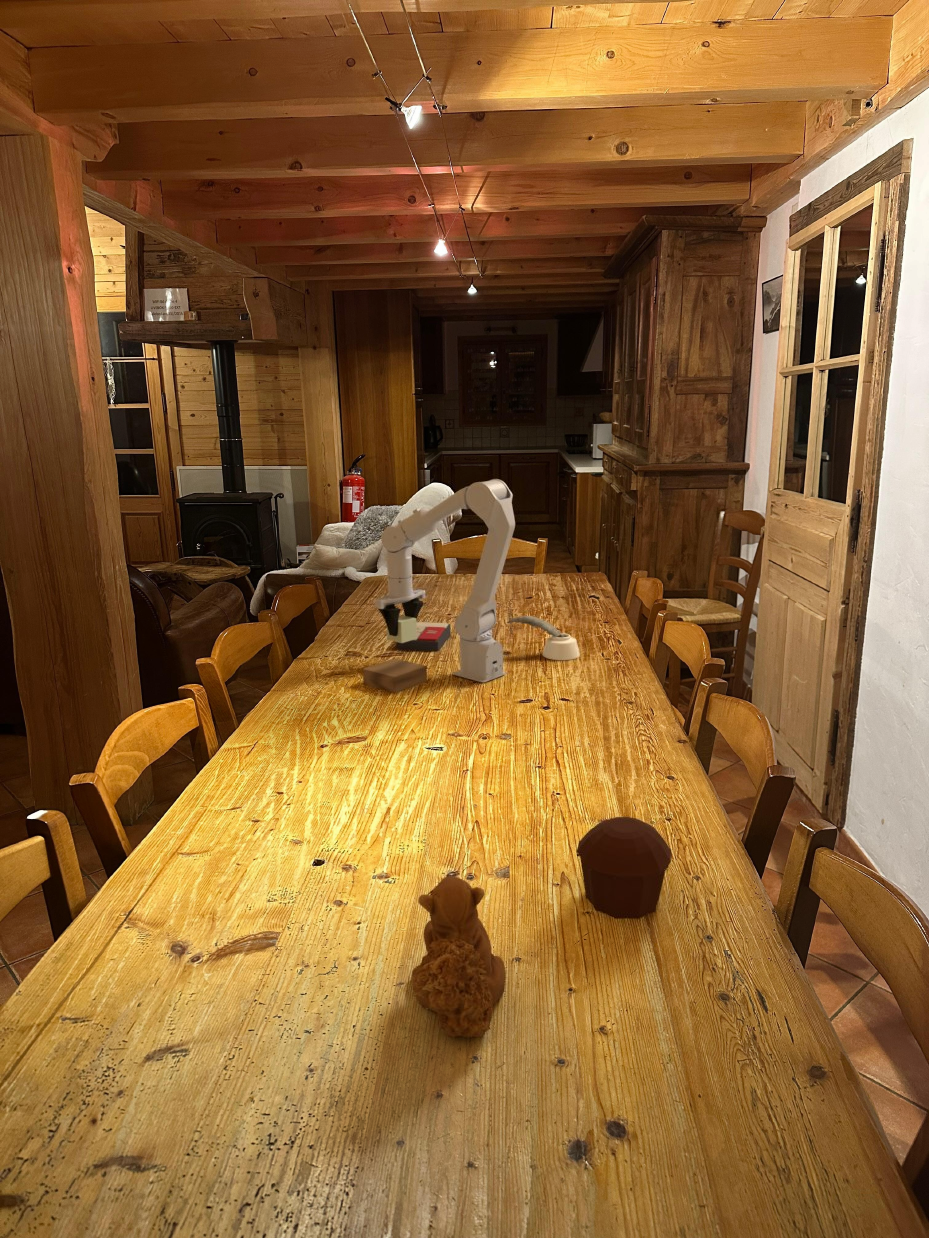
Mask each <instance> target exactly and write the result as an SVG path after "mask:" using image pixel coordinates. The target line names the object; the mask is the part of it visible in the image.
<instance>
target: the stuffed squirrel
mask: <svg viewBox="0 0 929 1238" xmlns="http://www.w3.org/2000/svg"><path fill="white" fill-rule="evenodd" d="M485 894H486V892H485V889H483V888H482V887H480V886H479V887H478V886H475V887H473V886H471V885H470V883H469V882H467V881H466V880H464V879H463V878H460V877H458V876H454V875H447V876H445V877H443V878H442V879H441V881H440V882H438V883H437V885H436V886H434V887H433V888H432V889H431V891H429V892H428V893H427V894H424V893H423V894H421V895H419V897H418V899H417V901H418V902H417V903H418V904H419V906H421V907H422V908H423V909H424V910H426V911H427V913H429V916H430V917H429V918H430V920H428V921H427V923H426V925H424V930H423V942H424V945H425V951H426V952H427V954H426V955H423V956H422V958H421V962H420V964H418V965H417V966H416V967H414V968H413V970H412V972H411V977H410V980H409V982H410V983H411V984H412V986H413V991H414V993H413V994H411V996H412V997H415V998H416V1000H417V1002H418V1004H419V1005H421V1006H422V1007H423V1008H425V1009H427V1010H428V1011H431V1012H433V1013H436V1015H437V1021H438V1025H439V1026H438V1028H441V1029H444V1031H445V1032H444V1034H446V1035H448V1036H450V1037H453V1038H454V1037H462V1038H479V1037H481V1036H485V1034H486V1032H487V1031H488V1030H491V1029H492V1028H491V1022H492V1019H493V1005H494V1004H495V1003H496V1002H497V1001H498V1000H499V999H500V997H502V995H503V994H504V992H505V987H506V967H505V966H506V965H505V964H504V960H503V958H502V957H501V956H498V955H495V954H493V953H492V944H491V940H490V938H489V935H488V932H487V930H486V928H485V926H484V924H483V922H482V921H481V919H480V918H479V912H478V909H477V908H478V907H477V906H478V905H480V903H481V901H482V900H483V898H484V897H485Z"/></svg>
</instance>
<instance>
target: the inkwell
mask: <svg viewBox="0 0 929 1238" xmlns="http://www.w3.org/2000/svg"><path fill="white" fill-rule="evenodd" d="M506 623H507V624H511V623H521V624H523V625H524V624H526V625H529V626H531V627H535V628H540V629H541V630H542V631H545V632H546V633H547V634H548V635H551V636H550V637H547V638H546V641H545V643H544V648H543V651H542V657H544V658H546V659H547V660H553V661H572V660H576V659H578V658H579V657H580V655H581V653H580V649H579V646H578V641H577V639H576V638H575V637H572V636H571V635H570V634H569V633H564V632H562V633H561V632H560V630H558V629H557V628H556V627H555V626H553V625H552V624H551V623H549V622H547V621H545V620H543V619H541V618H538V617H535V616H531V615H522V616H521V615H520V616H517V617H513V618H511V619H510V620H508V621H507V622H506Z"/></svg>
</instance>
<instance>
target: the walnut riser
mask: <svg viewBox="0 0 929 1238" xmlns="http://www.w3.org/2000/svg"><path fill="white" fill-rule="evenodd" d="M427 668H428V667H427V665H423V664H419V663H416V662H411V661H407V660H403V659H398V658H391V659H388V660H386V661H385V660H384V661H382V662H379V663H375V664H374V665H373V664H372V665H369V666H368V667H364V668H362V679H363V680H362V682H363V685H365V686H367V687H370V688H375V689H378V690H381V691H385V692H389V693H393V694H398V693H401V692H403V691H406V690H409V689H411V688H414V687H416V686H419V685H422V684H424V683H427V682H428V669H427Z"/></svg>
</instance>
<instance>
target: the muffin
mask: <svg viewBox="0 0 929 1238" xmlns="http://www.w3.org/2000/svg"><path fill="white" fill-rule="evenodd" d="M576 853H577V855H578V856H579V858H580V859H579V860H580V864H581V865H580V867H581V872H582V878H583V884H584V891H585V898H586V899H587V901H588V902H589V903H590V904H591V906H592V907H593V909H594V910H595V911H596V912H599V913H602V914H604V915H606V916H608V917H611V918H613V919H615V920H616V919H620V920H621V919H629V920H640V919H641V918H643V917H645V916H647V915H650V914H653V913H655V912H656V911H657V907H658V903H659V900H660V897H661V892H662V888H663V884H664V878H665V875H666V870H667V868H668V867H669V865H670V864H671V862H672V849H671V848H670V846H669V845H668V843H667V842H666V840H665V839H664V837H663V836H662V835H661V833H660V832H659V831H658V830H657V829H656V828H655V827H654V826H653V825H652V824H649V823H647V822H644V821H643V820H641V819H638V818H636V817H630V816H615V817H612V818H608V819H606V820H602V821H600V822H598V823H597V824H595V826H593V827H592V828H591V829H589V831H587V833H585V835H583V837H582V838H581V839H580V840H579V841H578V844H577V848H576Z"/></svg>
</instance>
